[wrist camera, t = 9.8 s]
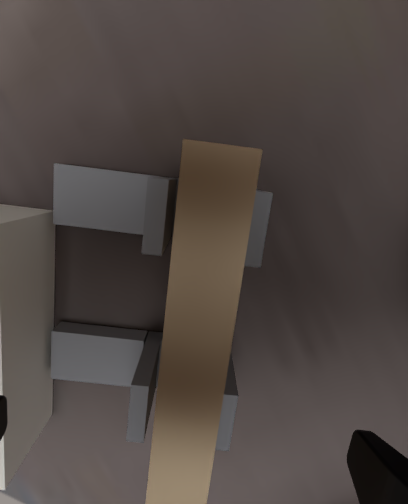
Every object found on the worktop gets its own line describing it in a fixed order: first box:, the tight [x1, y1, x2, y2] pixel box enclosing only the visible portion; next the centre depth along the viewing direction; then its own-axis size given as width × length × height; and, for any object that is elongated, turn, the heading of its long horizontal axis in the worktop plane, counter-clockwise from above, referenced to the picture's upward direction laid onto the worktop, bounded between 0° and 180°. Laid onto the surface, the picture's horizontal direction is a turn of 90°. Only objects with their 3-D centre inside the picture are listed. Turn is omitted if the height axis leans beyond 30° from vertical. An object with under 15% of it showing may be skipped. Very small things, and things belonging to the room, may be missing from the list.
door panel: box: [146, 139, 263, 504], centre depth 13 cm, size 14×2×8 cm, turn 173°
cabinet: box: [0, 163, 273, 490], centre depth 16 cm, size 15×16×5 cm
